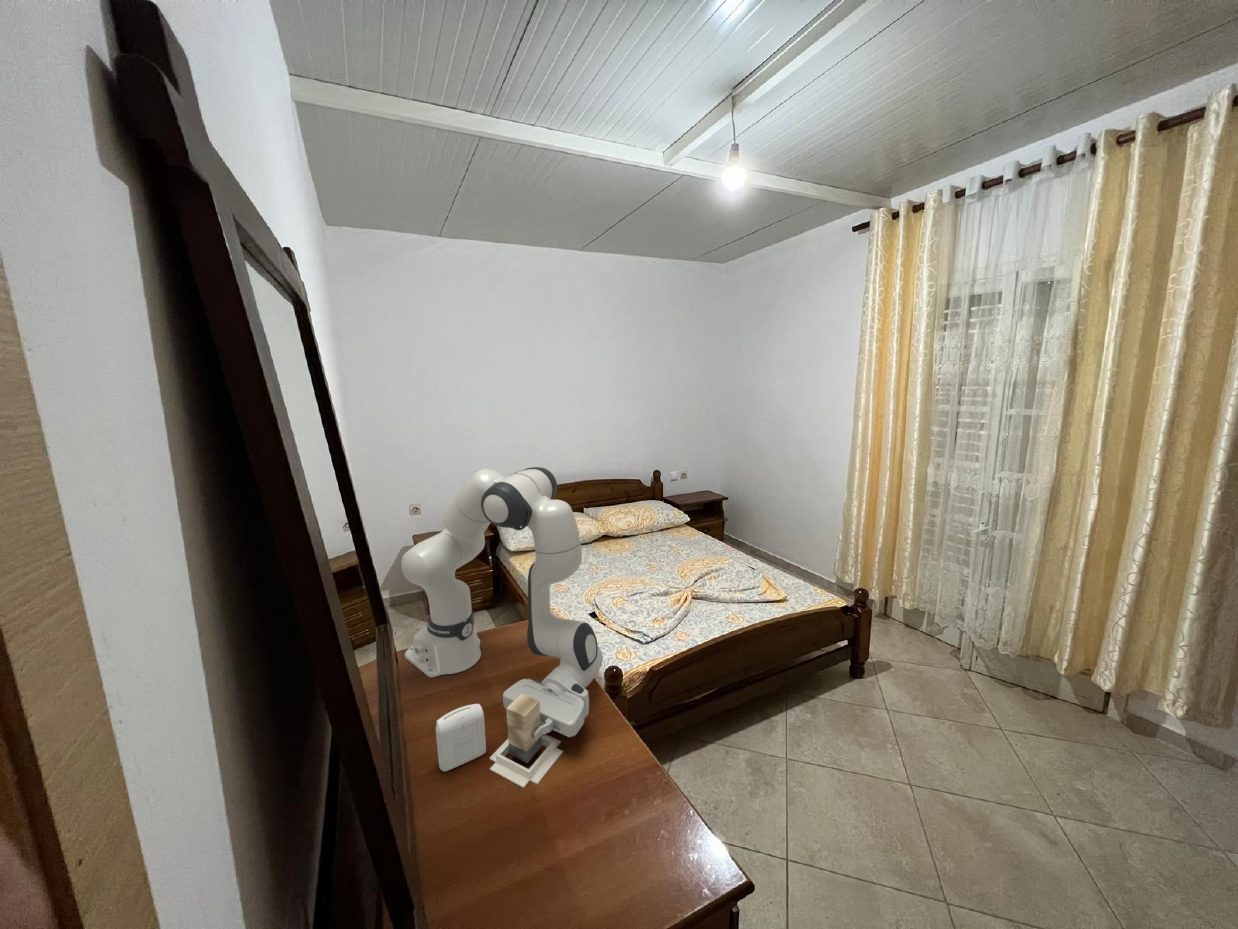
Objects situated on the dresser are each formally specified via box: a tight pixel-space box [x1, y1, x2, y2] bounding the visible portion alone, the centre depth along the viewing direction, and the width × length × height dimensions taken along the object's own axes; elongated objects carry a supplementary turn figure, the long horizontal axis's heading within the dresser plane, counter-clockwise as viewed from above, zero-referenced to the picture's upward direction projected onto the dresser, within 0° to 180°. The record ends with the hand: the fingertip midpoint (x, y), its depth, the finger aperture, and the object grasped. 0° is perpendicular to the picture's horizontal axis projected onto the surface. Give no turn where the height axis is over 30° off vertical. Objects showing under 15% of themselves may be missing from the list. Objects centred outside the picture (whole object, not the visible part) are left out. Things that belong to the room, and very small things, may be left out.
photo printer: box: [435, 703, 487, 772], centre depth 103 cm, size 10×4×12 cm, turn 123°
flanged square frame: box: [489, 733, 564, 789], centre depth 105 cm, size 13×13×2 cm
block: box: [505, 694, 542, 764], centre depth 104 cm, size 5×5×12 cm
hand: (521, 730), depth 103 cm, fingers closed on block, 5 cm apart
